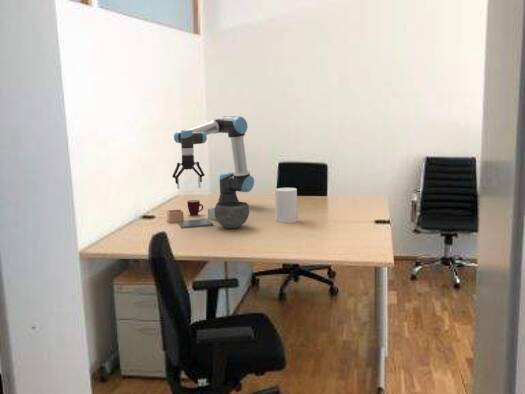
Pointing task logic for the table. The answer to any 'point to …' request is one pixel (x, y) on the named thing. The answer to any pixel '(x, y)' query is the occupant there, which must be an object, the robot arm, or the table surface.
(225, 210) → the bowl
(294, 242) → the table surface
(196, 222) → the slate board
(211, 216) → the sage open box
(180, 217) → the tan open box
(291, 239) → the table surface
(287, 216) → the canister
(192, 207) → the mug
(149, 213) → the table surface
